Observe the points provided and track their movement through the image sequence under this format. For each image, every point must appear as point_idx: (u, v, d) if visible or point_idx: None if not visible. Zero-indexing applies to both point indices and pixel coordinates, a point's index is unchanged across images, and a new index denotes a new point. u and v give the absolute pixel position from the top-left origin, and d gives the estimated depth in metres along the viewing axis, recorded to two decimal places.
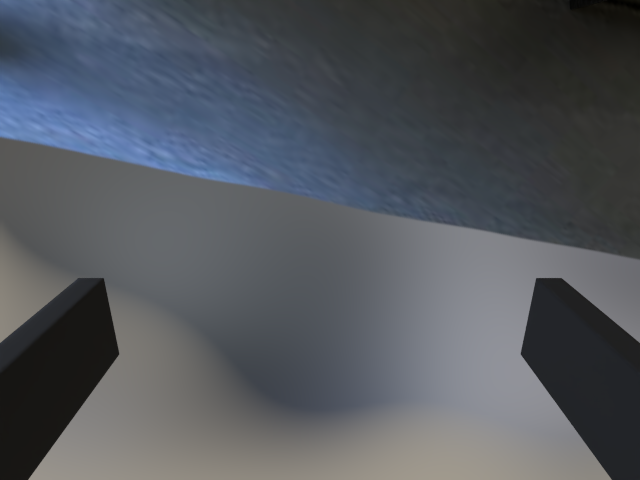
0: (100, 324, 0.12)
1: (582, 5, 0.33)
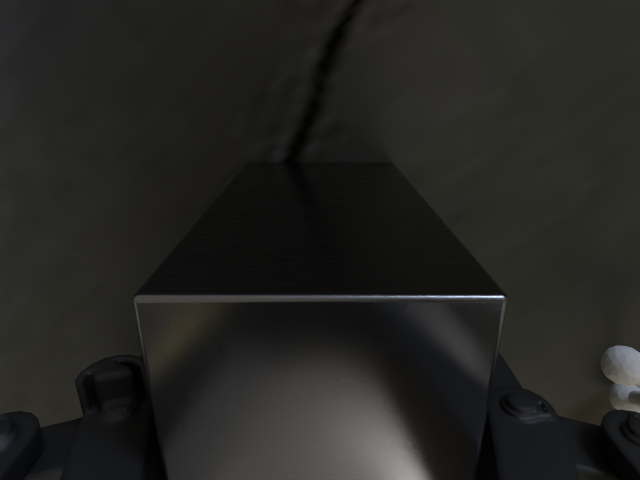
0: None
1: (239, 174, 0.12)
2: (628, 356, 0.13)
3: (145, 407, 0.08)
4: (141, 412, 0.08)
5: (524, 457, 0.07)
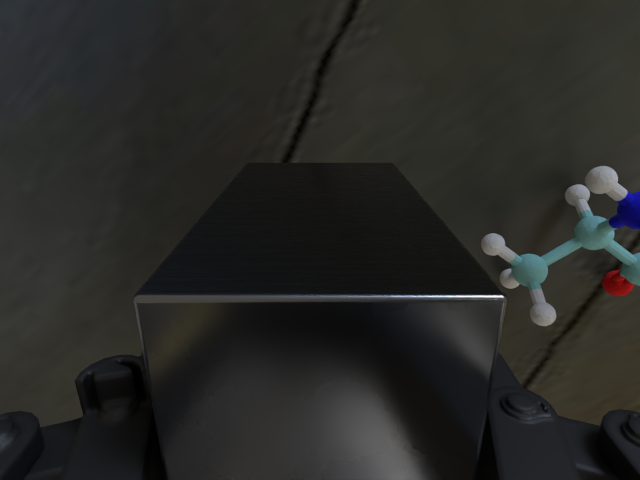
0: None
1: (239, 174, 0.12)
2: (493, 237, 0.23)
3: (145, 407, 0.08)
4: (141, 412, 0.08)
5: (524, 457, 0.07)
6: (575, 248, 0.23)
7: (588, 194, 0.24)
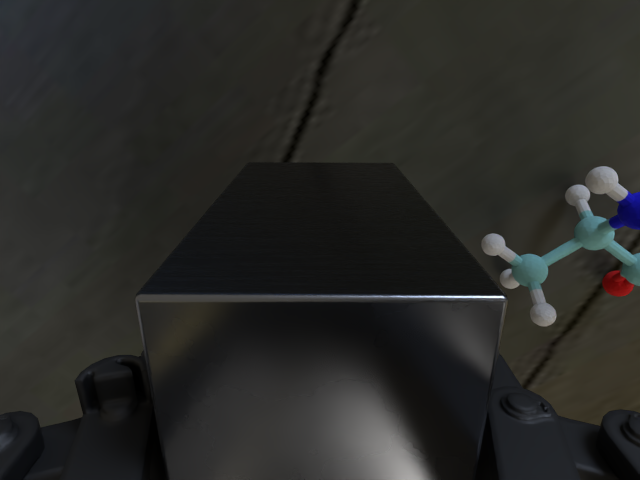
0: None
1: (240, 174, 0.12)
2: (493, 237, 0.23)
3: (145, 407, 0.08)
4: (141, 412, 0.08)
5: (524, 457, 0.07)
6: (575, 248, 0.23)
7: (588, 194, 0.24)
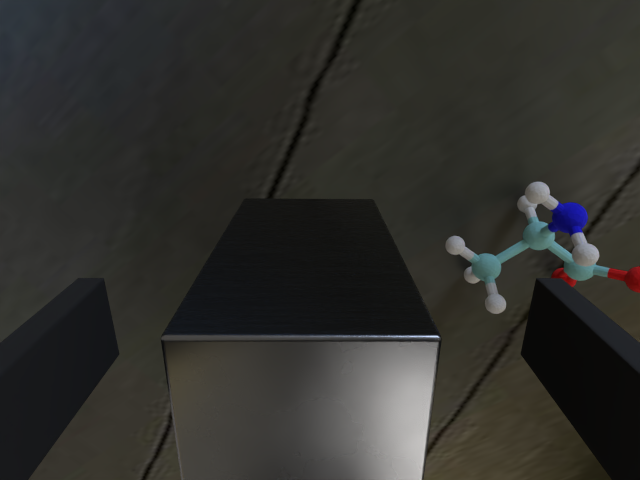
0: (100, 324, 0.12)
1: (238, 212, 0.14)
2: (455, 239, 0.27)
3: None
4: None
5: None
6: (523, 248, 0.27)
7: None
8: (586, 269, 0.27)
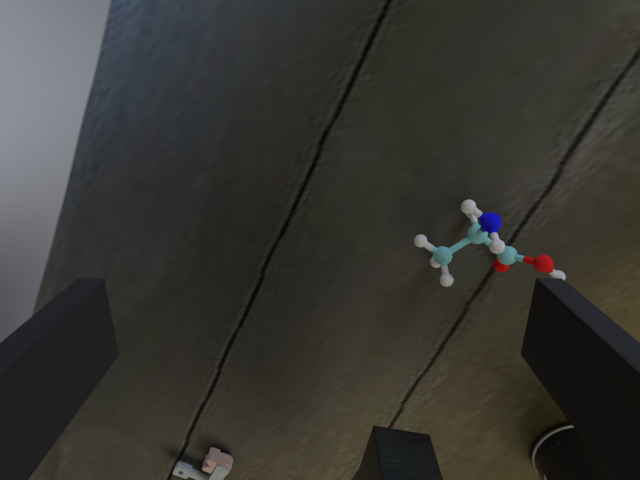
0: (100, 324, 0.12)
1: (376, 442, 0.33)
2: (420, 236, 0.40)
3: None
4: None
5: None
6: (467, 243, 0.40)
7: None
8: (509, 257, 0.39)
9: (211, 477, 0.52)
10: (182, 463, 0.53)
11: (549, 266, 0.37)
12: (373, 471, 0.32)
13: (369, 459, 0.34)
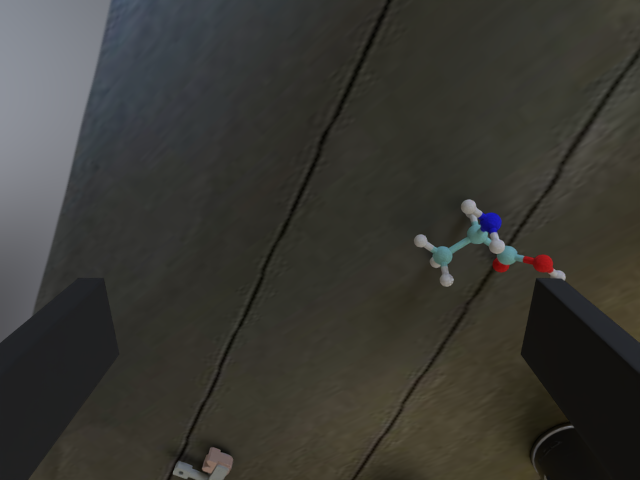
0: (100, 324, 0.12)
1: None
2: (420, 236, 0.40)
3: None
4: None
5: None
6: (467, 243, 0.40)
7: None
8: (509, 257, 0.39)
9: (211, 477, 0.52)
10: (182, 463, 0.53)
11: (549, 266, 0.37)
12: None
13: None
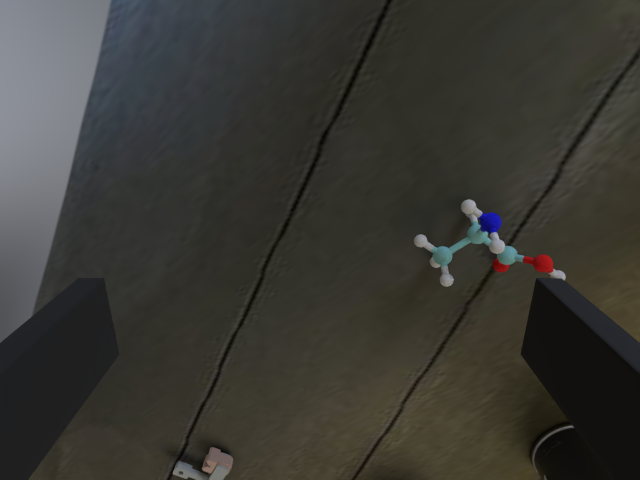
0: (100, 324, 0.12)
1: None
2: (420, 236, 0.40)
3: None
4: None
5: None
6: (467, 243, 0.40)
7: None
8: (509, 257, 0.39)
9: (211, 477, 0.52)
10: (182, 463, 0.53)
11: (549, 266, 0.37)
12: None
13: None
